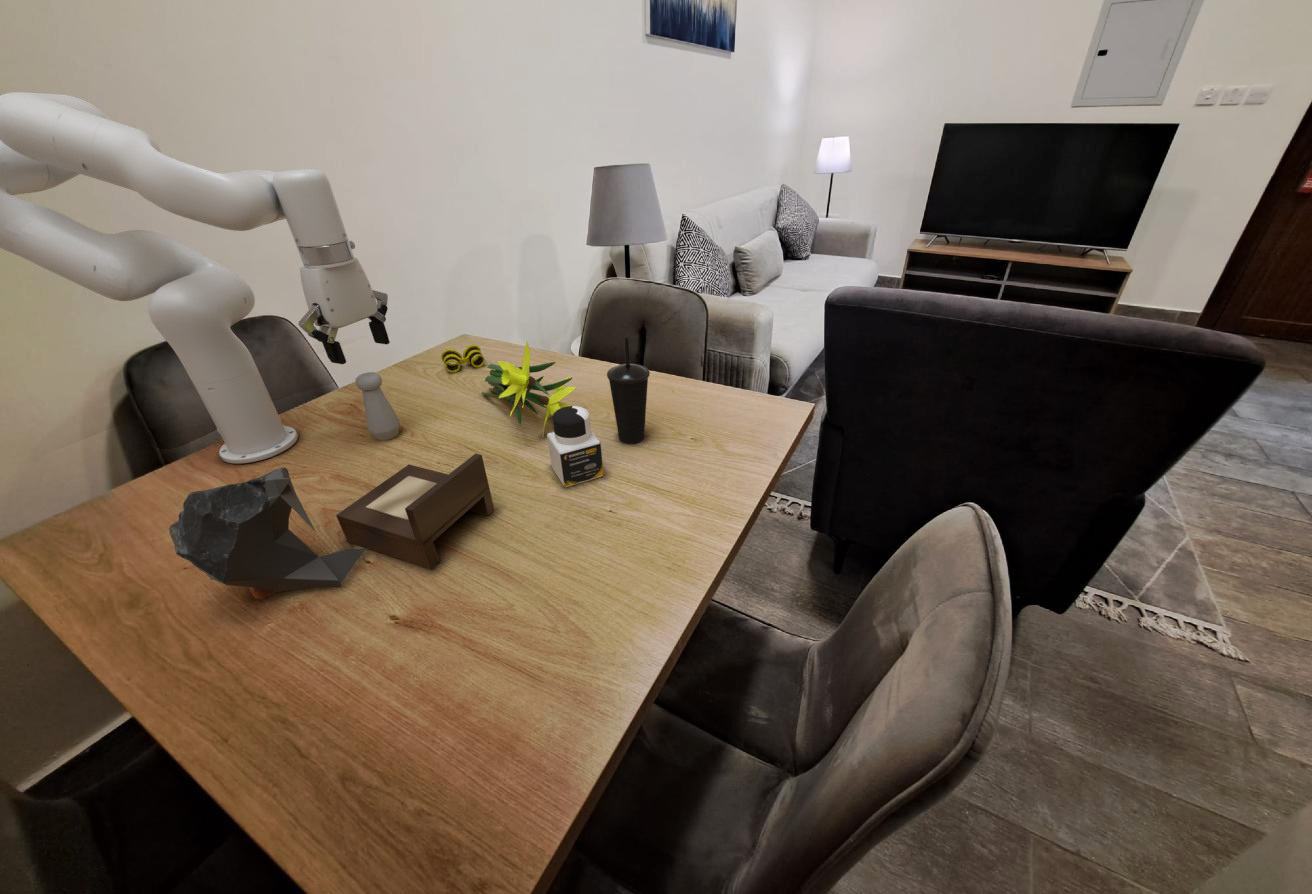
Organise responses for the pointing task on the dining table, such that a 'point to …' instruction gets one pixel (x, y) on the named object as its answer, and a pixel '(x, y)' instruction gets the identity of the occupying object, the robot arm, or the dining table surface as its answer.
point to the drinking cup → (629, 398)
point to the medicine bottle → (574, 447)
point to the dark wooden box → (416, 510)
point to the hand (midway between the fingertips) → (361, 352)
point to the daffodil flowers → (526, 386)
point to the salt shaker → (377, 407)
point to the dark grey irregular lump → (255, 538)
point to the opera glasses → (468, 357)
